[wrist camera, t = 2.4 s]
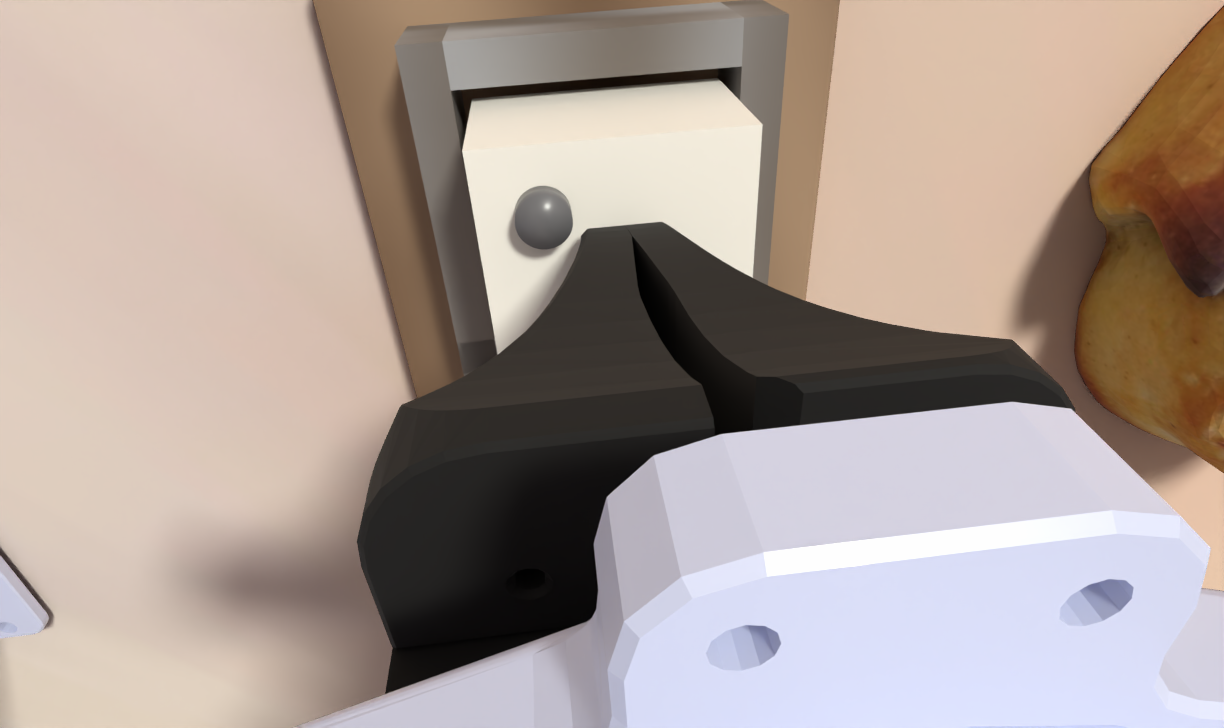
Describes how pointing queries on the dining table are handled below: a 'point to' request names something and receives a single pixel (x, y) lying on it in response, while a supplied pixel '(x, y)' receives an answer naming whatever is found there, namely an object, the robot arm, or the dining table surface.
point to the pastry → (1163, 259)
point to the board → (549, 62)
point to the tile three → (604, 180)
